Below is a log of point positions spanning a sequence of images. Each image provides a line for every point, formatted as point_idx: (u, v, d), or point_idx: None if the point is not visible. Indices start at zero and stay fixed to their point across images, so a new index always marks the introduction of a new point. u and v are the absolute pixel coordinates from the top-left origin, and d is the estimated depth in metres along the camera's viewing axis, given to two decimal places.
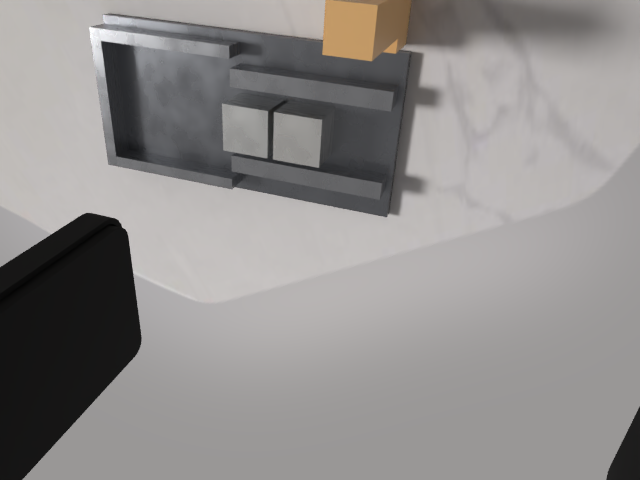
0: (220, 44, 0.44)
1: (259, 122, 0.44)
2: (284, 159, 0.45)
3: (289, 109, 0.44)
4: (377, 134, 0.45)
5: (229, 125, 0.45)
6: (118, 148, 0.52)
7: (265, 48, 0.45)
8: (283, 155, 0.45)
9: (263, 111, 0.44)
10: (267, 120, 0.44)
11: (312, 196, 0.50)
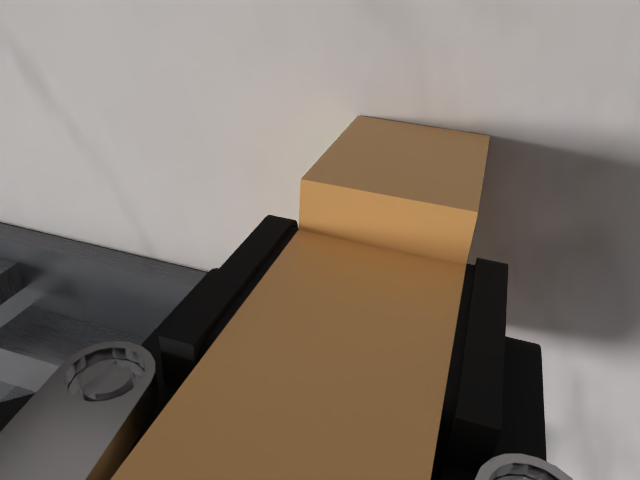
0: None
1: None
2: None
3: None
4: None
5: None
6: None
7: (80, 284, 0.17)
8: None
9: None
10: None
11: None
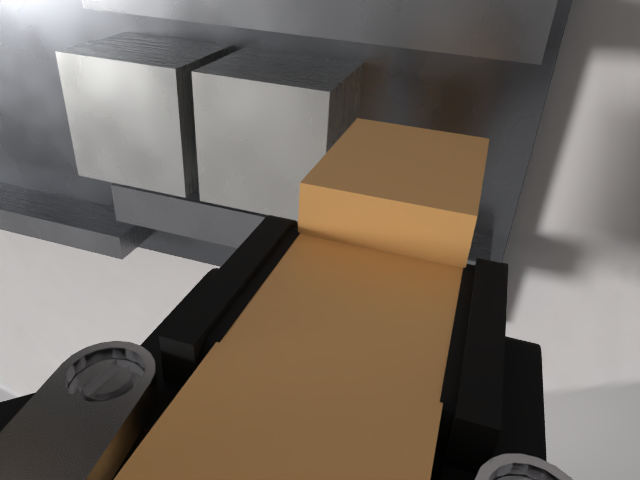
0: None
1: (156, 102, 0.16)
2: (229, 201, 0.17)
3: (238, 65, 0.16)
4: (475, 133, 0.17)
5: (82, 111, 0.17)
6: None
7: None
8: (225, 191, 0.17)
9: (164, 71, 0.15)
10: (176, 96, 0.16)
11: None
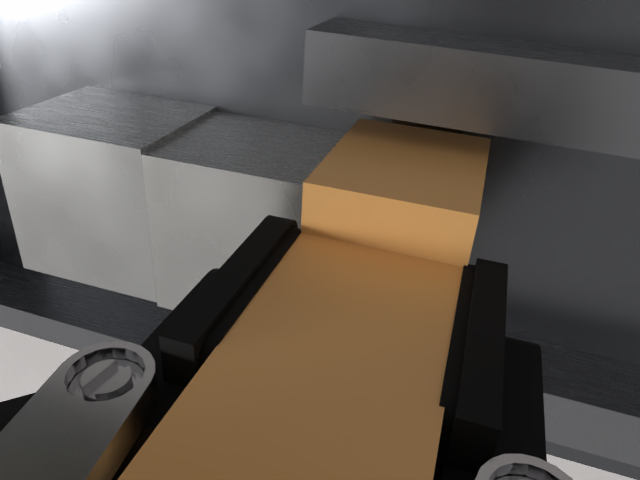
0: None
1: (116, 187, 0.12)
2: None
3: (204, 141, 0.13)
4: None
5: (25, 194, 0.13)
6: None
7: None
8: None
9: (125, 152, 0.12)
10: (142, 183, 0.12)
11: None
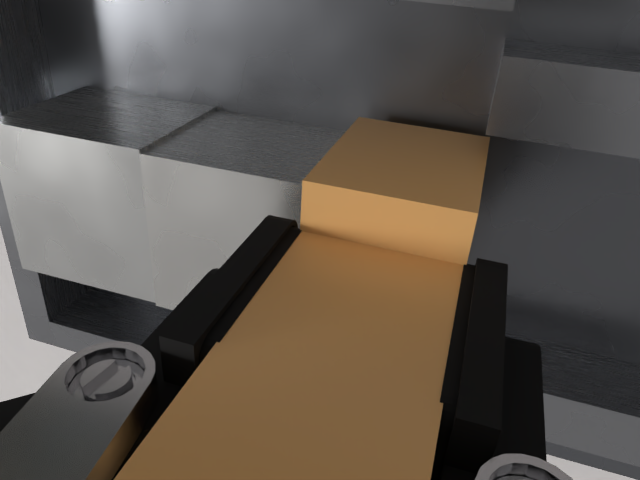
0: None
1: (115, 188, 0.12)
2: None
3: (203, 141, 0.13)
4: None
5: (23, 194, 0.13)
6: (55, 297, 0.18)
7: None
8: None
9: (124, 152, 0.12)
10: (140, 183, 0.12)
11: None
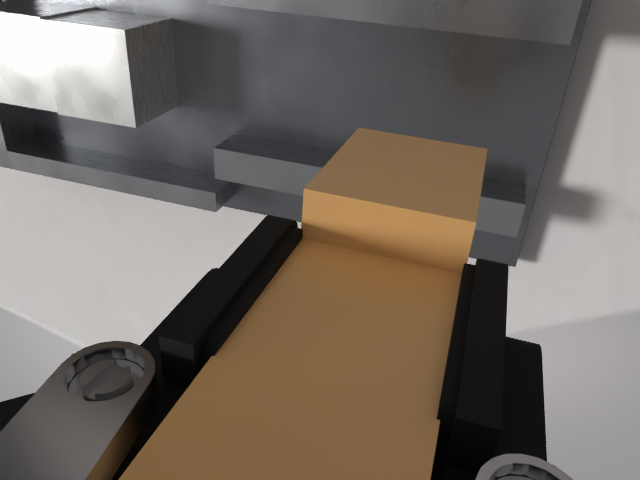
0: None
1: (30, 41, 0.23)
2: (76, 113, 0.24)
3: (78, 17, 0.23)
4: (514, 102, 0.22)
5: None
6: (11, 136, 0.29)
7: None
8: (73, 105, 0.24)
9: (32, 19, 0.23)
10: (42, 37, 0.23)
11: None
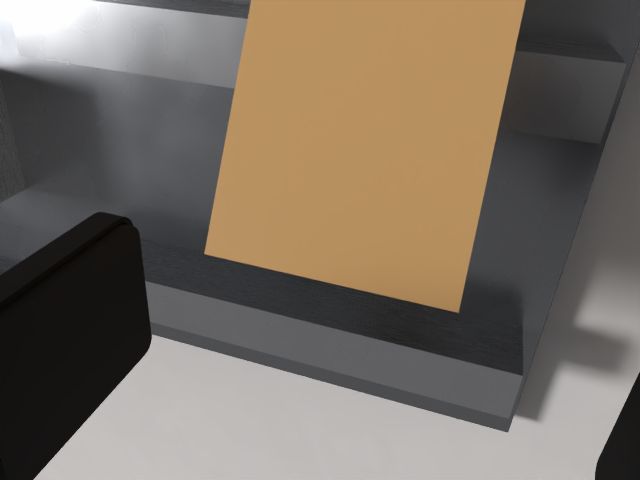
0: None
1: None
2: None
3: None
4: (504, 211, 0.14)
5: None
6: None
7: None
8: None
9: None
10: None
11: None
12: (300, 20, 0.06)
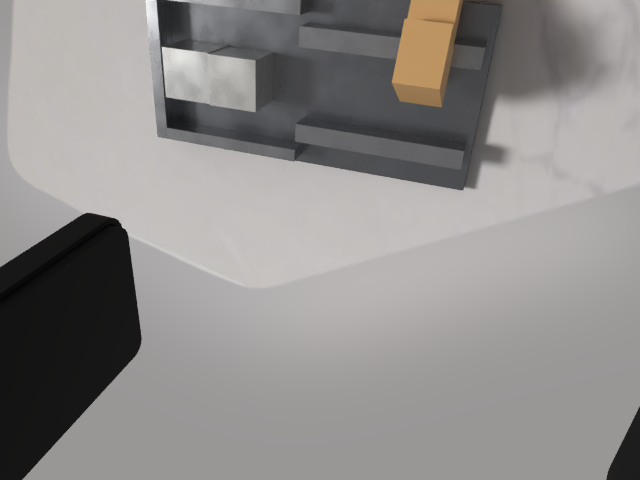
0: None
1: (199, 65, 0.43)
2: (221, 104, 0.44)
3: (224, 52, 0.43)
4: (458, 98, 0.42)
5: (170, 70, 0.44)
6: (168, 119, 0.49)
7: (338, 4, 0.41)
8: (219, 100, 0.44)
9: (203, 53, 0.43)
10: (207, 63, 0.43)
11: (380, 169, 0.46)
12: (411, 38, 0.34)
